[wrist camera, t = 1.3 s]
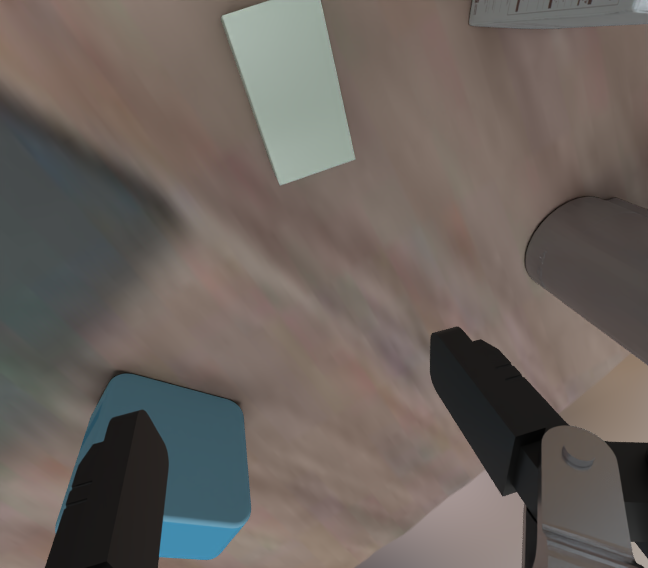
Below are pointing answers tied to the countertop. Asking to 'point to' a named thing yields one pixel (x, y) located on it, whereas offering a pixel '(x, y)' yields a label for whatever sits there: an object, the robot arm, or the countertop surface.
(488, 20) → the supplement box
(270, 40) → the box
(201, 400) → the blue box
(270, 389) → the countertop surface
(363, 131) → the countertop surface
